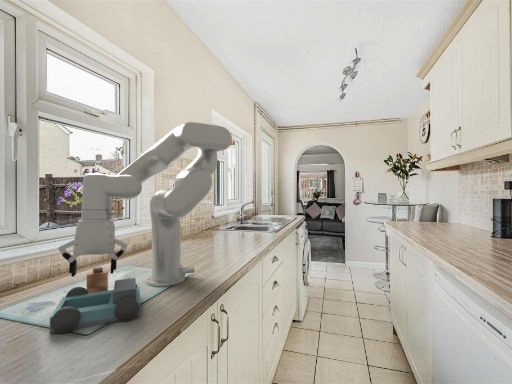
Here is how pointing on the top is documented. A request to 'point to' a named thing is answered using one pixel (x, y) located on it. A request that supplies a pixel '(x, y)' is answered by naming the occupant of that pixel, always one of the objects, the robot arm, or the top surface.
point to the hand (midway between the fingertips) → (93, 273)
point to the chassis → (96, 307)
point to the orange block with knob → (97, 280)
